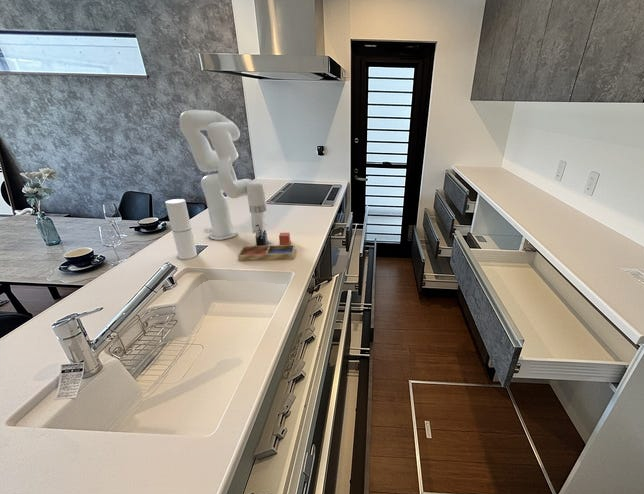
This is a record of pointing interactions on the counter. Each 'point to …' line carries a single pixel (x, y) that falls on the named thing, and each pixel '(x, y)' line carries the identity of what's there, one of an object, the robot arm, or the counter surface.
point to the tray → (267, 252)
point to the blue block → (264, 238)
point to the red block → (284, 238)
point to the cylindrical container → (181, 228)
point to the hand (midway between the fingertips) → (262, 242)
